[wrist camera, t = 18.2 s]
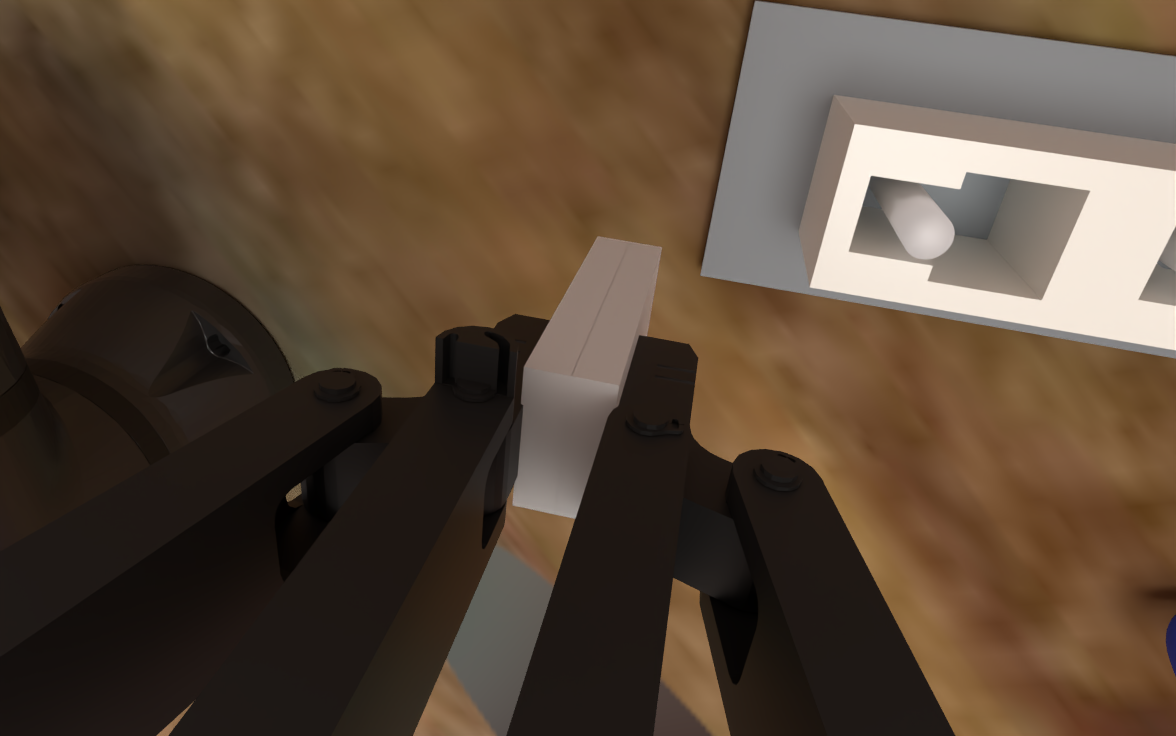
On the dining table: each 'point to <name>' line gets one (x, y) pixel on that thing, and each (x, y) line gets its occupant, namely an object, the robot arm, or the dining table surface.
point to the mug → (1172, 642)
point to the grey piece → (916, 78)
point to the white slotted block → (1001, 220)
